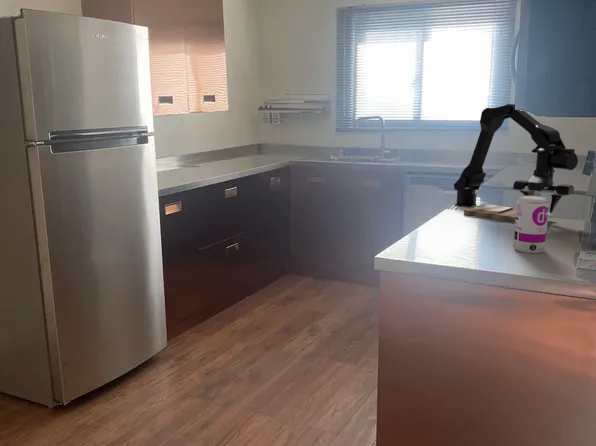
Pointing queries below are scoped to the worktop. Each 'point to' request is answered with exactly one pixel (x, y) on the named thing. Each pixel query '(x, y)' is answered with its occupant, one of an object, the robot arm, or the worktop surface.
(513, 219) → the tan backing board
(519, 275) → the worktop surface
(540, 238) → the supplement can
